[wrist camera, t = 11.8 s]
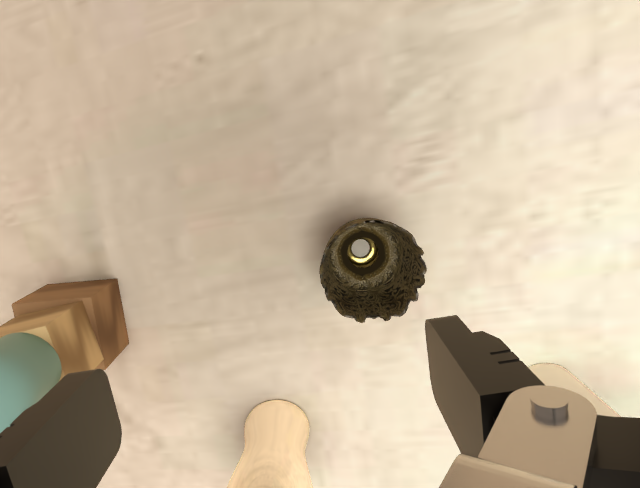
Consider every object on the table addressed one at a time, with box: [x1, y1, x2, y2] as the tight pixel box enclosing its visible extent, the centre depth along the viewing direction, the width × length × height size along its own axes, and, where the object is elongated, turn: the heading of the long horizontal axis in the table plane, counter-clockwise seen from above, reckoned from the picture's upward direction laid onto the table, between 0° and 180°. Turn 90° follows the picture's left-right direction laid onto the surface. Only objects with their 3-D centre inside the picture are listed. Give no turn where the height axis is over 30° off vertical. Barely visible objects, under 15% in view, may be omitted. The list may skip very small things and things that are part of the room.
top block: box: [0, 300, 104, 381], centre depth 33 cm, size 5×5×5 cm
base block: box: [12, 279, 129, 370], centre depth 38 cm, size 6×6×5 cm
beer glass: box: [227, 400, 313, 488], centre depth 36 cm, size 7×7×15 cm
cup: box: [320, 218, 427, 323], centre depth 36 cm, size 8×7×8 cm
